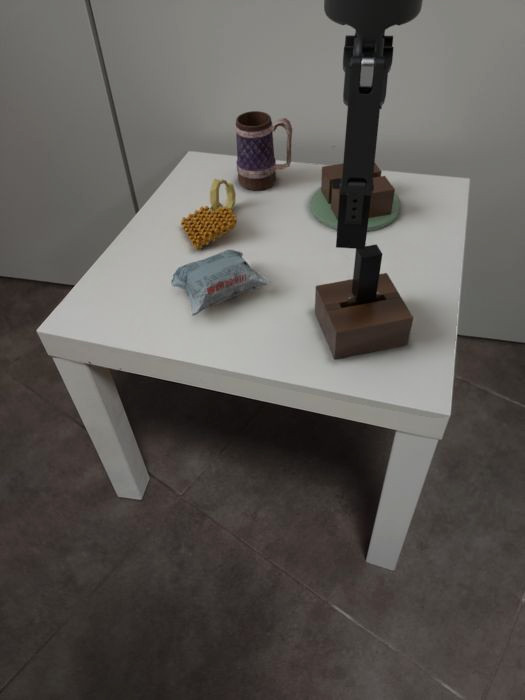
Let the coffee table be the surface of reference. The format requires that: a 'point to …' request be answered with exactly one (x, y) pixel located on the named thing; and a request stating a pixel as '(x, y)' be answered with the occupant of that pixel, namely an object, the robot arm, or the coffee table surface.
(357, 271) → the knife
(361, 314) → the knife block
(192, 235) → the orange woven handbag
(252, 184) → the mug
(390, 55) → the robot arm
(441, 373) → the coffee table surface
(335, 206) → the green disc stand
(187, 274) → the packaged food
